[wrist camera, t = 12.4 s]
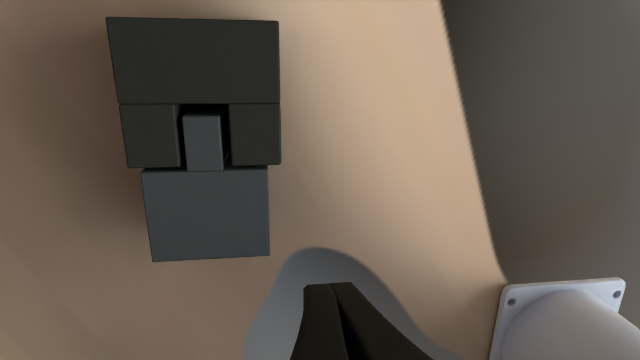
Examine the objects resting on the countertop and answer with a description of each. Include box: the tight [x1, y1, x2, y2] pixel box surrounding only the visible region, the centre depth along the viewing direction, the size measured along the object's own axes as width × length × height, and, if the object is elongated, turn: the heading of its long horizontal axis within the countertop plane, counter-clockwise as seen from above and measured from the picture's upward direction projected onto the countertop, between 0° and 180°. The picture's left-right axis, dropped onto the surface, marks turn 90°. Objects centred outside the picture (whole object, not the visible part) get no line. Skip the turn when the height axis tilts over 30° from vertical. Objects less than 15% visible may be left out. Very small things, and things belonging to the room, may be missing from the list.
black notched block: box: [106, 17, 281, 168], centre depth 16 cm, size 6×6×3 cm
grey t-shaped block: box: [140, 106, 270, 262], centre depth 17 cm, size 6×5×3 cm
